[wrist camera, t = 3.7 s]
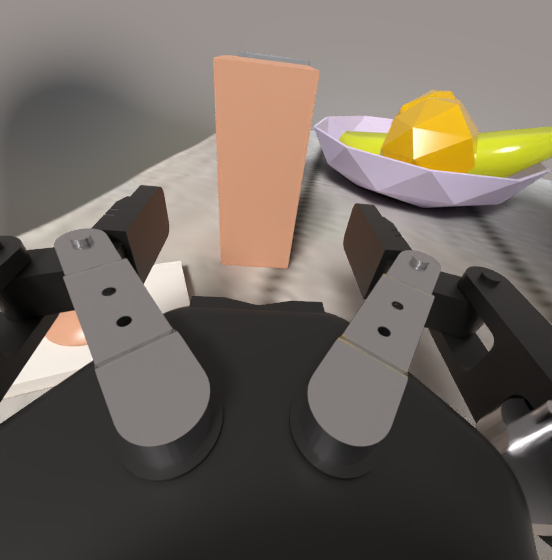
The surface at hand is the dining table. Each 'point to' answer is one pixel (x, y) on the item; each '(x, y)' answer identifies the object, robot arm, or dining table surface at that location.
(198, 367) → the robot arm
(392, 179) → the fruit bowl
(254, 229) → the terracotta block
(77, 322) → the card
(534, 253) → the dining table surface
